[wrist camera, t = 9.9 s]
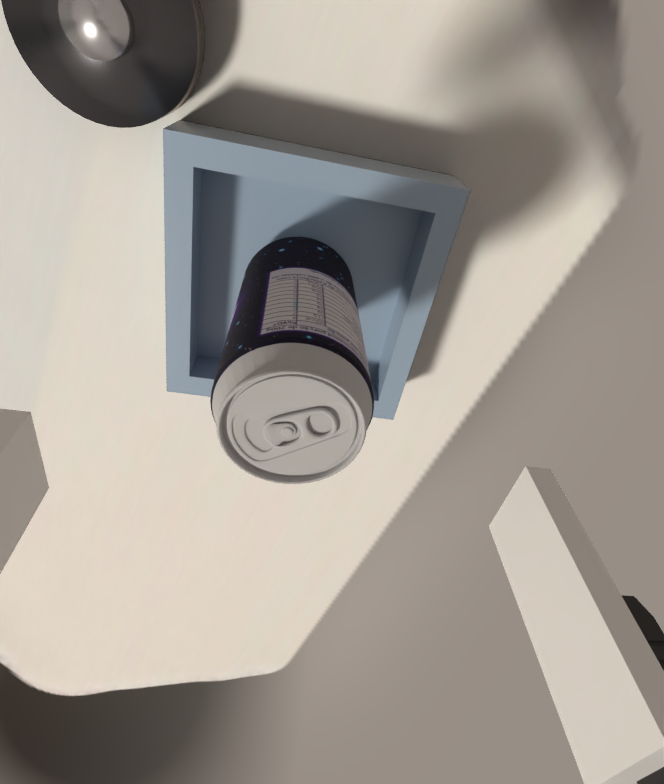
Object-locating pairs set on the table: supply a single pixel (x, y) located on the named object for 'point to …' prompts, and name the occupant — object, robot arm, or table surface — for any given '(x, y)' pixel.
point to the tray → (298, 219)
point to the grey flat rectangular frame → (112, 54)
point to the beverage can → (294, 367)
